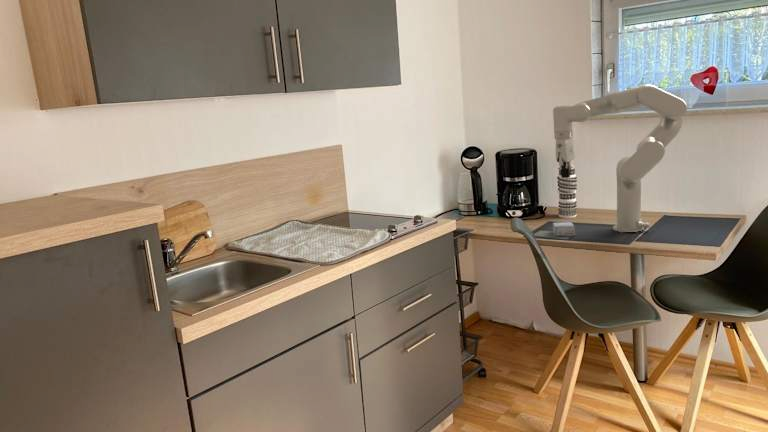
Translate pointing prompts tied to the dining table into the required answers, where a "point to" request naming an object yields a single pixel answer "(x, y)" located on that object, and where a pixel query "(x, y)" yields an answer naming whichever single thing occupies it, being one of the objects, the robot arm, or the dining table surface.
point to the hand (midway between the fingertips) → (565, 177)
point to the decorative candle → (567, 194)
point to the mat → (550, 235)
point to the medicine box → (563, 229)
